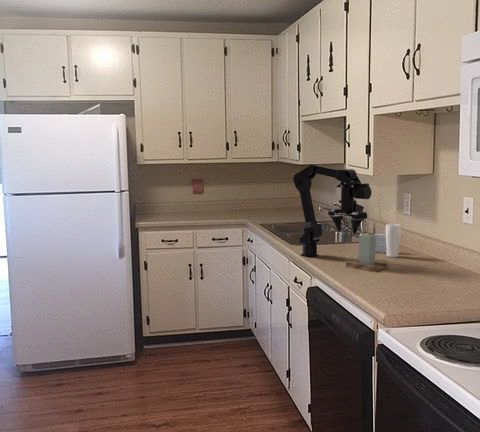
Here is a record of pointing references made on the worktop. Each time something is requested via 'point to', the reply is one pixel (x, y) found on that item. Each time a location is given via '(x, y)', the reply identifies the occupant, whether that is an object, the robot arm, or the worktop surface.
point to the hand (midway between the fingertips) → (346, 233)
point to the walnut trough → (367, 266)
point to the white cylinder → (393, 239)
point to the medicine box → (380, 243)
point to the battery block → (367, 249)
